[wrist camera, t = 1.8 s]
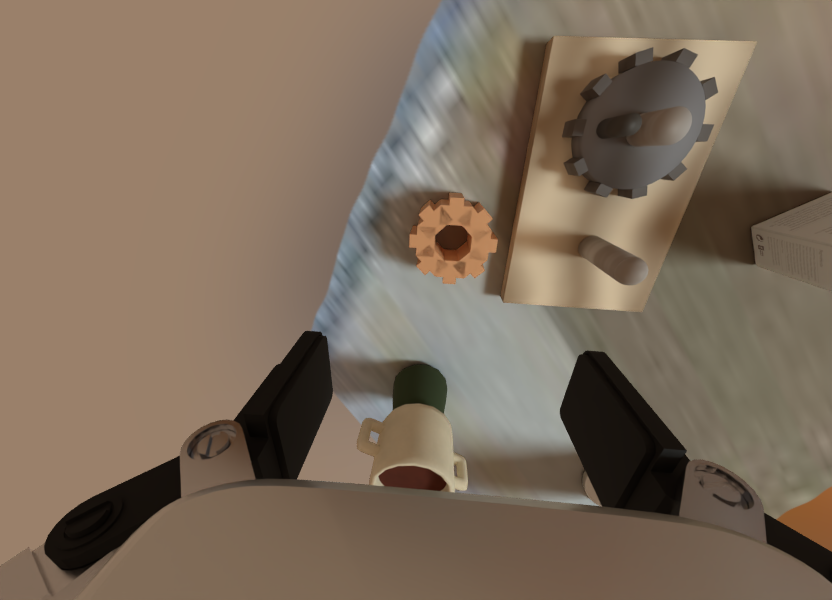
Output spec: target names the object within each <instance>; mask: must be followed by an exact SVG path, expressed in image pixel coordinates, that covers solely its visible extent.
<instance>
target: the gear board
mask: <svg viewBox="0 0 832 600" xmlns="http://www.w3.org/2000/svg"><path fill="white" fill-rule="evenodd" d="M756 43H757V42H756V41H719V40H683V39H646V38H609V37H572V36H553V37H552V39H551V40H550V41H549V42H548V43H547V45H546V50H545V56H544V61H543V66H542V72H541V77H540V83H539V88H538V94H537V99H536V105H535V110H534V115H533V121H532V126H531V132H530V137H529V143H528V148H527V154H526V159H525V165H524V170H523V175H522V181H521V186H520V192H519V197H518V203H517V208H516V214H515V219H514V224H513V230H512V235H511V241H510V246H509V252H508V257H507V263H506V268H505V273H504V279H503V284H502V290H501V295H500V296H501V299H502V301H503V302H504V303H518V304H533V305H547V306H562V307H577V308H591V309H606V310H620V311H635V312H642V311H643V309H644V306H645V304H646V302H647V299H648V297H649V295H650V292H651V290H652V288H653V285H654V283H655V281H656V278H657V276H658V274H659V271H660V269H661V266H662V264H663V262H664V259H665V257H666V255H667V252H668V250H669V248H670V245H671V243H672V241H673V238H674V236H675V234H676V231H677V229H678V227H679V224H680V222H681V220H682V217H683V215H684V212H685V210H686V208H687V205H688V203H689V201H690V198H691V196H692V194H693V191H694V189H695V187H696V184H697V182H698V180H699V177H700V175H701V173H702V170H703V168H704V166H705V163H706V161H707V158H708V156H709V154H710V151H711V149H712V147H713V144H714V142H715V140H716V137H717V135H718V133H719V130H720V128H721V126H722V123H723V121H724V119H725V116H726V114H727V112H728V109H729V107H730V104H731V102H732V100H733V97H734V95H735V93H736V90H737V88H738V86H739V83H740V81H741V79H742V76H743V74H744V72H745V69H746V67H747V65H748V62H749V60H750V58H751V55H752V53H753V50H754V48H755V46H756Z"/></svg>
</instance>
